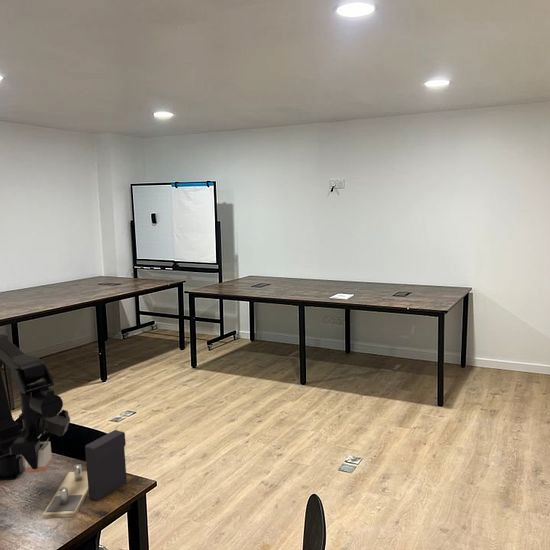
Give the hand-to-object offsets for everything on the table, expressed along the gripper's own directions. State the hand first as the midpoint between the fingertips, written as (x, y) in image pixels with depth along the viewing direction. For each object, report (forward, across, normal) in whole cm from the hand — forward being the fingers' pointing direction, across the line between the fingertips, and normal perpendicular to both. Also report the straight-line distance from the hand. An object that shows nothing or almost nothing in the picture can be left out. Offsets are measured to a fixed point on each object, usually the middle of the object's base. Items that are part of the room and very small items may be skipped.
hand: (38, 463), depth 144 cm
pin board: (+9, 0, -8) cm, 12 cm away
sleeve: (+1, 0, 0) cm, 1 cm away
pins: (+9, 0, -8) cm, 12 cm away
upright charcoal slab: (+10, +1, -17) cm, 20 cm away
